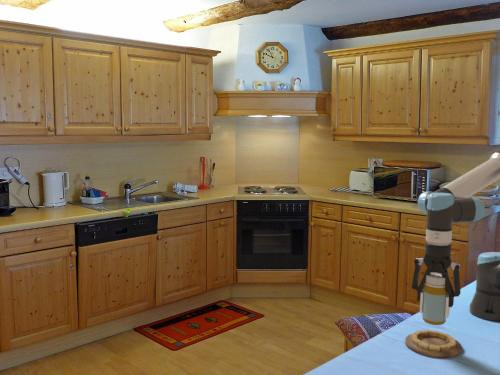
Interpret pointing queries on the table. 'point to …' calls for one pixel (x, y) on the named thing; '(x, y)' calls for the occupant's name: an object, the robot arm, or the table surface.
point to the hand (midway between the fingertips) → (434, 313)
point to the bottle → (434, 299)
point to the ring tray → (433, 344)
